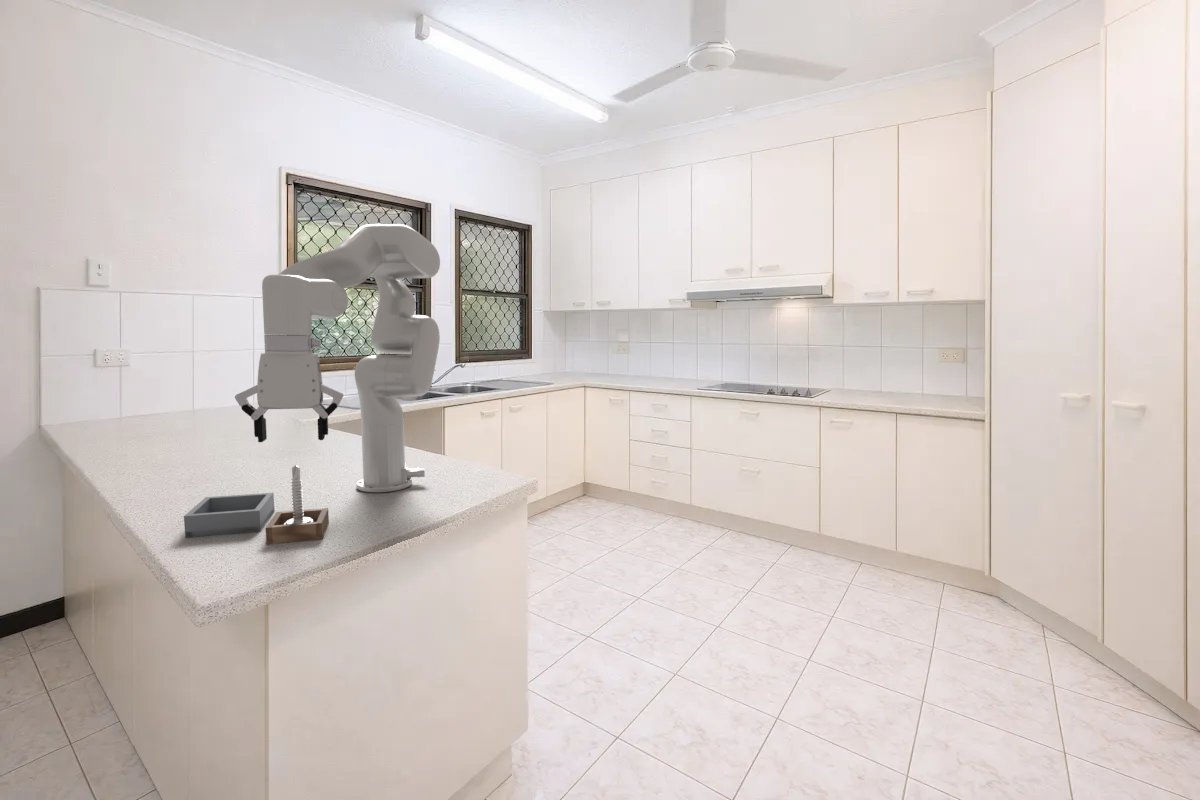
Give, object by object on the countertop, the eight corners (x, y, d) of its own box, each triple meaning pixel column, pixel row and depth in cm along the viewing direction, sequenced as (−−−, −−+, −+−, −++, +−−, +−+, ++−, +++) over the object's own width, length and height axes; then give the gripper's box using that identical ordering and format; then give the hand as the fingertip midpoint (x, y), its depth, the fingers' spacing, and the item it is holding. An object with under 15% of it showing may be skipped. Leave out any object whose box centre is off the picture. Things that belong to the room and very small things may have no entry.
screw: (280, 533, 106) (306, 526, 110) (291, 539, 103) (318, 532, 107) (276, 465, 105) (303, 460, 108) (287, 469, 101) (315, 464, 105)
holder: (328, 522, 112) (328, 508, 112) (322, 539, 104) (321, 523, 103) (277, 527, 109) (276, 512, 109) (266, 544, 101) (265, 527, 100)
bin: (274, 511, 118) (273, 492, 118) (260, 531, 107) (259, 510, 107) (207, 516, 115) (205, 497, 114) (185, 537, 103) (183, 516, 103)
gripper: (343, 346, 108) (346, 435, 110) (239, 344, 103) (243, 438, 105) (339, 346, 101) (342, 441, 103) (226, 345, 96) (231, 445, 97)
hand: (292, 439), depth 104 cm, fingers open, 9 cm apart
